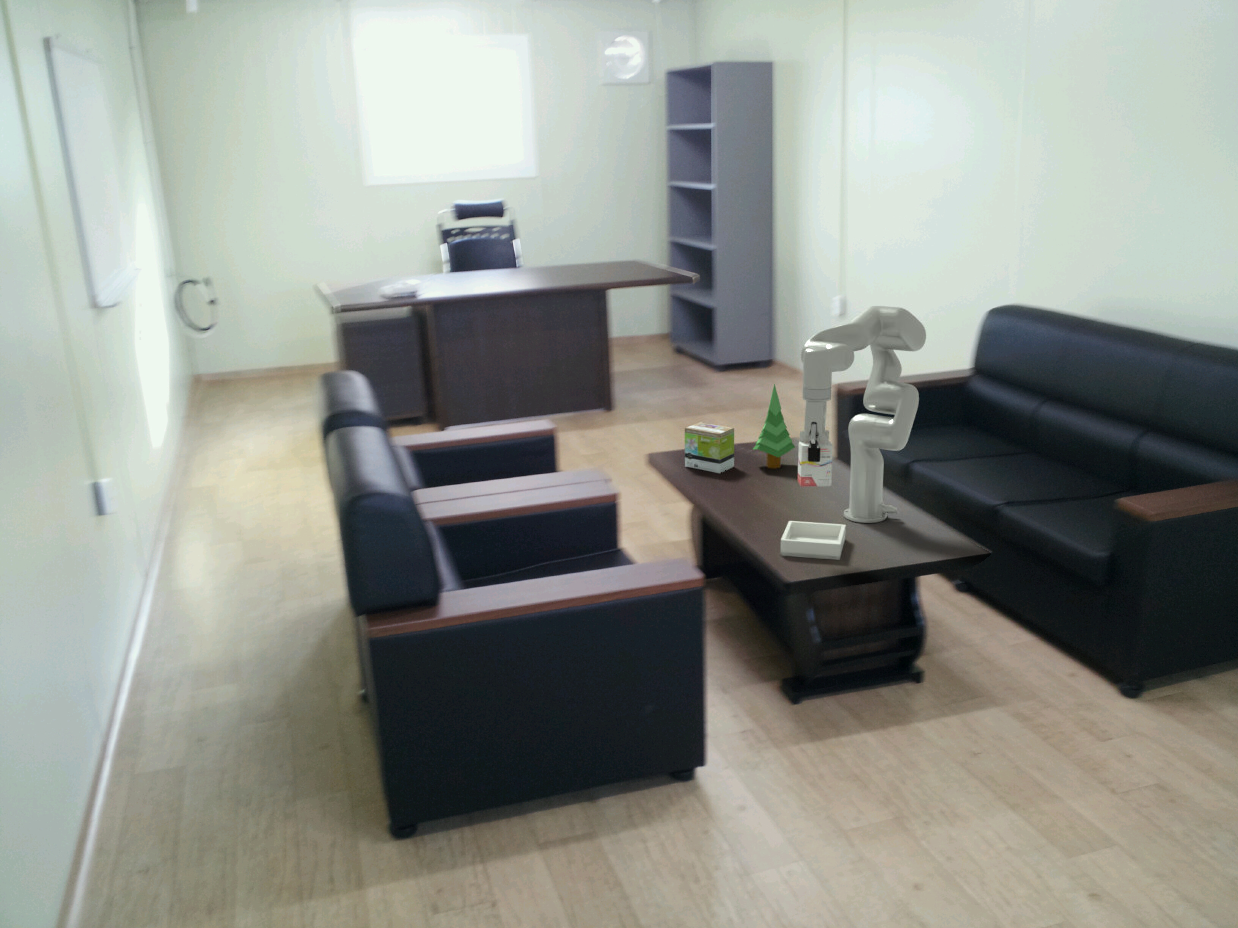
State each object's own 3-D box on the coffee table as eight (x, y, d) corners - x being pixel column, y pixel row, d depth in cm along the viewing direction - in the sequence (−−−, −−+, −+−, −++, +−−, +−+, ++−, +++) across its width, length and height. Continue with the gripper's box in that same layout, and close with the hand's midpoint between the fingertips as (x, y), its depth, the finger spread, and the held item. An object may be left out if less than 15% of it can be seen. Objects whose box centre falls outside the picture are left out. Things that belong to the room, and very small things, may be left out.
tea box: (683, 467, 369) (683, 427, 364) (699, 460, 376) (699, 421, 372) (720, 474, 360) (719, 432, 356) (735, 467, 367) (735, 426, 363)
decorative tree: (787, 459, 374) (788, 377, 366) (797, 471, 359) (799, 387, 351) (750, 461, 373) (750, 379, 365) (759, 473, 358) (759, 389, 350)
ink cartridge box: (800, 487, 282) (801, 435, 278) (797, 482, 287) (798, 430, 283) (832, 486, 282) (833, 434, 278) (828, 480, 287) (829, 429, 283)
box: (845, 539, 295) (845, 524, 294) (839, 559, 280) (840, 544, 279) (788, 535, 300) (789, 520, 298) (780, 555, 285) (780, 539, 284)
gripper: (806, 386, 286) (805, 448, 292) (798, 400, 271) (797, 466, 276) (834, 387, 284) (832, 450, 289) (827, 401, 269) (825, 467, 274)
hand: (815, 457), depth 283 cm, fingers closed on ink cartridge box, 6 cm apart
